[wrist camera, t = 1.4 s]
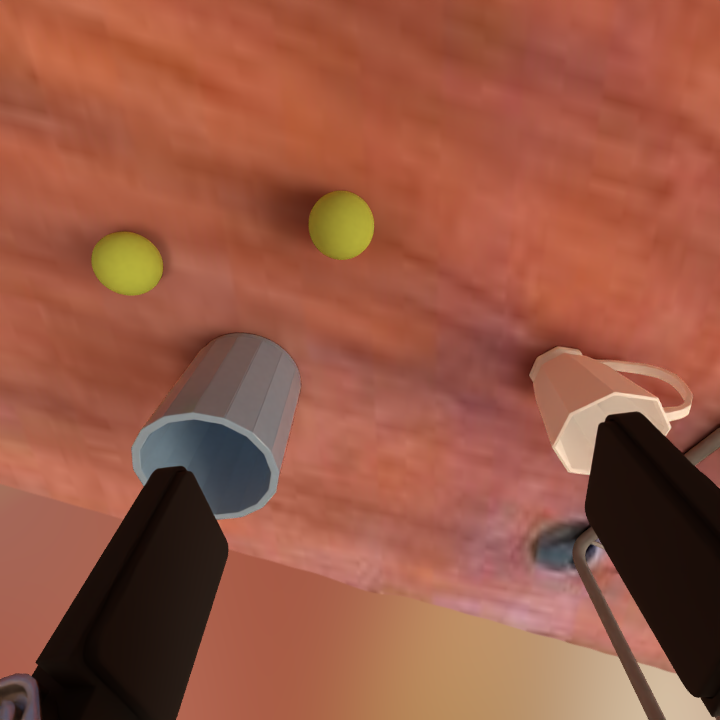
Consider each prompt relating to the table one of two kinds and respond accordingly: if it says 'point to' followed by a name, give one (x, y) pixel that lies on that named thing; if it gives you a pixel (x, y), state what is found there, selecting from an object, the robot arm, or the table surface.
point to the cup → (595, 400)
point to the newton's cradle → (623, 651)
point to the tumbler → (226, 423)
